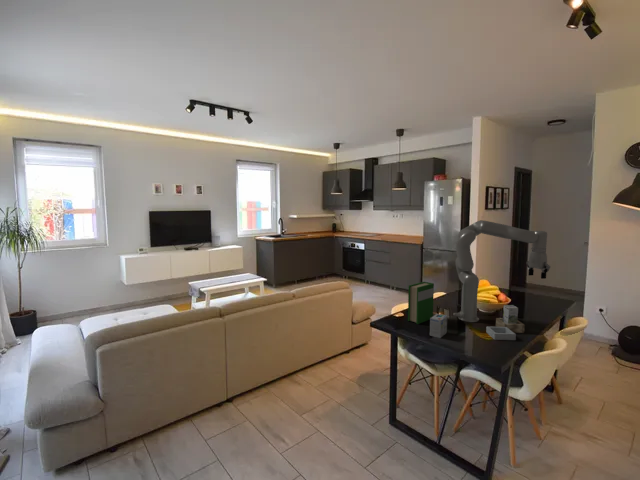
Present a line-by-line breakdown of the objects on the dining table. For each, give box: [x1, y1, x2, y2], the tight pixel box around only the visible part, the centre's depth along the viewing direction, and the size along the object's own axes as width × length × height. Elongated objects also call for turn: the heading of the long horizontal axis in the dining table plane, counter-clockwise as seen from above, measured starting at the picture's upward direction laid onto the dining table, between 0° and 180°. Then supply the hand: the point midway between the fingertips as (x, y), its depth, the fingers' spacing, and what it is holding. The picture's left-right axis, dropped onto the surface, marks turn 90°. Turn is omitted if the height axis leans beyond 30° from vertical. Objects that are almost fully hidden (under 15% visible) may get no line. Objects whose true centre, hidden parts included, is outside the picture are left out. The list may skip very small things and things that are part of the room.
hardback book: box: [407, 281, 435, 325], centre depth 221 cm, size 18×7×24 cm, turn 130°
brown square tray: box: [495, 317, 526, 334], centre depth 204 cm, size 11×11×5 cm
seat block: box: [485, 326, 517, 341], centre depth 193 cm, size 11×11×4 cm
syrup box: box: [502, 304, 519, 324], centre depth 204 cm, size 6×6×14 cm
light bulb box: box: [429, 313, 448, 339], centre depth 197 cm, size 11×7×11 cm, turn 141°
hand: (537, 276), depth 213 cm, fingers open, 9 cm apart
